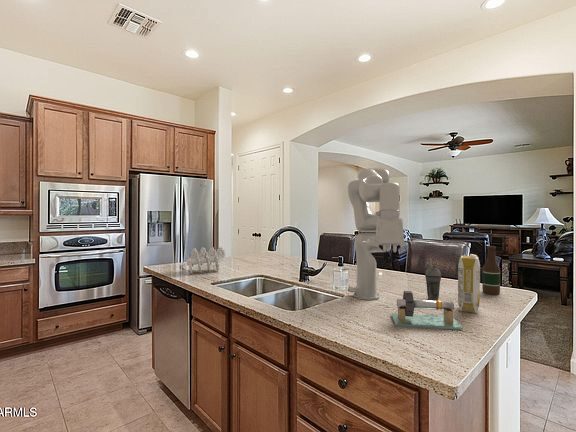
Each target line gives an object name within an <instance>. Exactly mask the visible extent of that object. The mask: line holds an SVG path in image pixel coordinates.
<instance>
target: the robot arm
mask: <svg viewBox="0 0 576 432" xmlns="http://www.w3.org/2000/svg"><path fill="white" fill-rule="evenodd" d="M357 175H358V176H357V179H353V180H351V181H350V182H349V183H348V185H347V195H348V199H349V201H350V204H351V206H352V208H353V215H354V216H353V217H354V224H355V228H356V230H357V231H358V232H361V233H358V234H356V235H355V238H354V247H355V253H356V254H355V255H356V285H355V286H354V287H347V292H350V293H353V297H354V298H355V299H360V300H365V301H367V300H368V301H373V300H377V299H380V296H381V295H380V293H378V292H377V260H376V258H375V257H374V255H372V253H383V254H382V255H383V256H382V259H383V261H384V262H385V263H389V261H388V260H389V258H388V257H389V256H388V255H389V253H388V252H390V261H391V263H395V261H396V257H397V256H396V255H397V251H398V250H400V249H401V248H404V247H406V246H407V244H406V242H405V234H404V233H405V232H404V223H403V218H402V217H400V216H401V215H400V213H401V212H400V211H401V210H400V209H401V208H400V199H401V198H400V197H401V196H400V193H401V192H400V191H401V190H400V189H401V188H400V184H399V183H398V182H390V173H389V171H388V170H387V169H386V168H381V167H380V168H379V167H377V168H364V169H361V170H360V171H359V173H358V174H357ZM370 203H378V204H379V205H378V206H379V207H378V208H379V209H378V211H375V213H372V210H371V205H370ZM390 250H391V251H390Z"/></svg>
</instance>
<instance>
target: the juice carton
mask: <svg viewBox="0 0 576 432" xmlns="http://www.w3.org/2000/svg"><path fill="white" fill-rule="evenodd" d="M480 263H481V262H480V260H479V256H478V255H477V254H473V253H469V255H461V256H460V258H459V260H458V264H457V265H458V267H457V268H458V269H457V301H458V302H457V304H458V308H459V311H460V312H466V313H473V314H477V313H478V311H479V308H480V300H481V299H480V298H481V297H480V296H481V295H480V293H481V264H480Z"/></svg>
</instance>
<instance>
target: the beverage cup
mask: <svg viewBox="0 0 576 432" xmlns="http://www.w3.org/2000/svg"><path fill="white" fill-rule="evenodd" d="M429 261H430V267H429V268H427V269H426V271H425V272H424V273H425V274H424V276H425V280H426V281H425V283H426V294H427V300H429V301H436V300H439V297H440V285H441V280H442V276H443V275H442V273H441V270H440V269H439V268H438V267H437V266H436V267H435V266H433V264H432V262H433V261H432V257H429Z"/></svg>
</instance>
